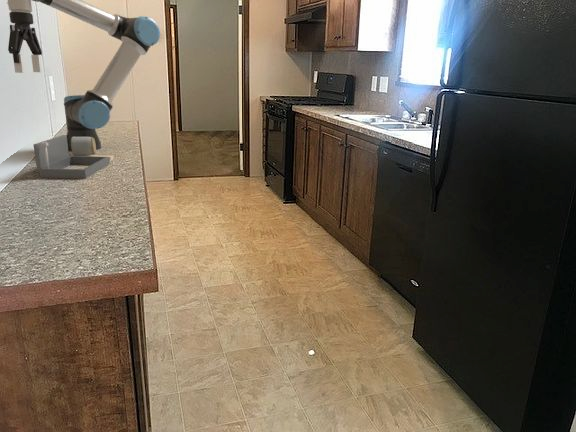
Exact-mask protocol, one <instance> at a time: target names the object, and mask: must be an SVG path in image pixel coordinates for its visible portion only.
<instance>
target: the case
mask: <svg viewBox="0 0 576 432" xmlns="http://www.w3.org/2000/svg"><path fill="white" fill-rule="evenodd" d="M32 146H33V150H34V152H33V153H34V159H35V166H36V169H37V170H38V171H39V179H40V178H41V179H83V180H86V179H88V178H89V176H90V177H91V176H93V175H95V174H96V173H98V172H99V170H100V171H101V170H103V169H105V168H106V167H108V166H110V165H111V160H110V158H109V157H98V156H74V155H70V154H69V150H68V144H67V134H62V135H58V136H56V137H52V138H50V139H47V140H43V141H40V142H37V143H34V144H33V145H32ZM109 164H110V165H109ZM72 165H87V167H85V168H67V167H69V166H72ZM88 165H89V166H88ZM97 171H98V172H97ZM94 173H95V174H94Z"/></svg>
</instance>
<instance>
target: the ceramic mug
mask: <svg viewBox="0 0 576 432" xmlns="http://www.w3.org/2000/svg"><path fill="white" fill-rule="evenodd" d="M71 148H72V150H71V152H72V156H87V155H94V154H97V153H96V152H97V149H96V144H95V140H94V138H93V137H72V138H71Z"/></svg>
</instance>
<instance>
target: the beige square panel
mask: <svg viewBox="0 0 576 432" xmlns="http://www.w3.org/2000/svg"><path fill="white" fill-rule="evenodd" d="M87 156H98V157H109V158H110V161H112V160H113V159H115V158H117V154H116V153H106V154H105V153H95V154H94V155H87Z"/></svg>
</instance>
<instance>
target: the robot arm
mask: <svg viewBox="0 0 576 432" xmlns="http://www.w3.org/2000/svg"><path fill="white" fill-rule="evenodd" d="M32 1H33V2H37V3H41V4H44V5H46V6H49V7H50V8H53V9H55V10H58V11H60V12H62V13H64V14H67V15H69V16H71V17H73V18H76V19H78V20H81V21H82V22H85V23H87V24H89V25H91V26H93V27H95V28H98V29H100V30H103V31H105V32H107V33H108V35H109V36H110V37H113V38H115V39H117V40H119V41H121V44H120V46H119V47H118V49H117V51H116V52H115V54H113V55H114V56H113V57H112V59H111V60H110V62H109V63H108V65H107V66H106V68H105V70H104V72H103V73H102V74H101V76H100V77H99V79H98V80H97V82H96V84H95V86H94V87H93V88H92V89H89V90H87V91H86V92H85V94H77V95H66V96H65V97H64V98H63V101H64V102H63V105H64V106H63V107H64V112H65V113H64V114H65V123H66V132H67V133H66V135H67V144H68V151H72V148H71V138H72V137H93V138H94V140H95V144H96V150H99V149H102V142H101V140H100V137H99V135H98V133H97V129H101V128H104V127H105V126H107V124H108V123H109V121H110V119H111V111H112V109H113V107H114V105H113V100H114V99H115V97H116V95H117V94H118V92H119V91H120V89H121V87H122V86H123V84H124V82H125V81H126V79H127V77H128V76H129V75H130V73H131V71H132V70H133V68H134V66H135V65H136V63H137V62H138V60H139V59H140V57H141V56H145V55H147V53H148V51H149V50H150V48H151V47H153V46H155V45H156V44H157V43H158V42H159V40H160V38H161V30H160V27H159V25H158V22H156V21H155V19H153V18H152V17H150V16H145V15H141V16H138V17H125V16H123V15H120V14H117V13H115V14H112V13H110V12H108V11H105V10H103V9H101V8H100V7H97V6H95V5H93V4H91V3H89V2H86V1H84V0H7V1H6V4H7V5H8V6H7V7H8V10H9V11H10V12H9V14H8V15H9V20H10V21H9V22H10V23H11V24H9V39H8V46H7V51H8V54H10V55H11V54H12V57H13V58H12V60H13V66H14V72H15V73H16V74H17V73H18V74H19V73H20V74H21V73H22V74H23V73H25V72H24V64H23V57H22V53H21V51H22V45H23V42H24V41H25V42H26V44H27V46H28V49H29V50H30V52H31V55H30V57H31V64H32V70H33V71H32V72H33V73H42V67H41V60H40V56H42V55H43V51H42V48H41V44H40V43H39V39H38V36H37V33H36V28H35V27H31V26H30V25H34V17H33V16H34V15H33V14H32V12H33V7H32Z"/></svg>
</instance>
